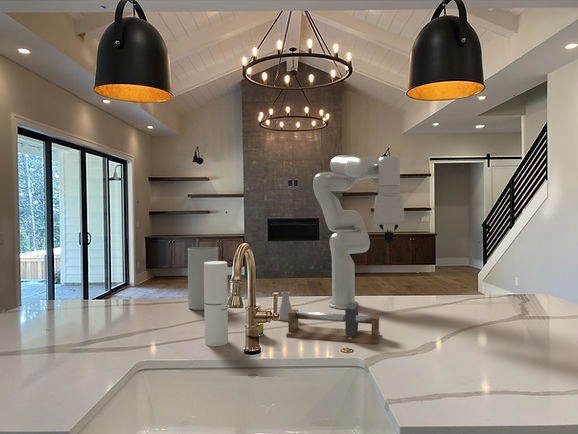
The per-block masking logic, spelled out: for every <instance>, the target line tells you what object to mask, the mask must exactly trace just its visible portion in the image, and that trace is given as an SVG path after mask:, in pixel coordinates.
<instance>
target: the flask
mask: <svg viewBox="0 0 578 434" xmlns="http://www.w3.org/2000/svg"><path fill="white" fill-rule="evenodd" d="M291 305H292V304H291V302H290V291H282V292H281V301H280V305H279V309H278V312H277V314H279V316H280V319H279V320H278V321H283V322H287V321H288V313H289V312H290V311H291V310H292V309H293V308H292V306H291Z"/></svg>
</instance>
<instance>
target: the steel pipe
mask: <svg viewBox="0 0 578 434" xmlns="http://www.w3.org/2000/svg"><path fill="white" fill-rule="evenodd" d="M295 318H296V319H298V320H311V321H322V322H339V323H345V313H328V312H312V311H299V310H298V311H296V313H295ZM371 318H372V315H360V314H358V315H356V323H358V324H368V325H371Z"/></svg>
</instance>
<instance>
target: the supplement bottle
mask: <svg viewBox="0 0 578 434" xmlns="http://www.w3.org/2000/svg"><path fill="white" fill-rule="evenodd" d="M255 303H256V302H255ZM256 304H257V306H258V307H259V311H263V309H262V307H261V303H258V302H257V303H256ZM263 312H264V311H263ZM259 335H260V337H262V336H263V335H264V323H263V324H260V325H259Z"/></svg>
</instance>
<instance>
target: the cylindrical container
mask: <svg viewBox="0 0 578 434" xmlns="http://www.w3.org/2000/svg"><path fill="white" fill-rule="evenodd" d="M228 290H229V289H228V262H227V261H224V260H218V261H211V262H205V263H204V302H205V303H204V307H205V310H204V344H205V345H206V346H208V347H221V346H224V345H227V344H228V343H229V308H227V307H226V306H227V302H228V303H229V301H228V300H229V299H228V296H229V293H228V292H229V291H228Z"/></svg>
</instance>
